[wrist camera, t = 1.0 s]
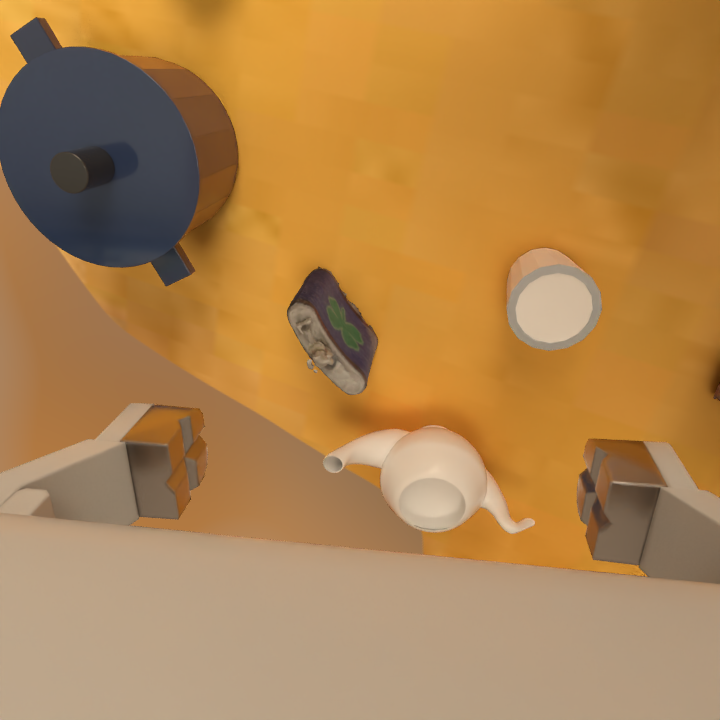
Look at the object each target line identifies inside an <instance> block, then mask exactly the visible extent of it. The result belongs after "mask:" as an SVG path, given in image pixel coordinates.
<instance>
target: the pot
mask: <svg viewBox="0 0 720 720" xmlns="http://www.w3.org/2000/svg"><path fill="white" fill-rule="evenodd" d="M11 38H12V39H13V41H14V43H15V44H16V46H17V47H18V49H19V51H20V52H21V54H22V56H23V57H24V59H25V60H26V62H27V64H28V63H29V62H30V61H31V60H33V59H34V58H36V57H38V56H40V55H41V54H43V53H46V52H49V51H52V50H55V49H59V48H62V46H61V45H60V43H59V41H58V40H57V38H56V36H55V35H54V33H53V31H52V30H51V28H50V26H49V24H48V23H47V21H46V19H45V18H38V17H36V18H34V19H33V20H31V21H30V22H29V23H27V24H26V25H24V26H23V27H22V28H20V29H19V30H17V31H16V32H14V33H13V34H12V35H11ZM120 56H121V55H120ZM122 57H124V58H126V59H129V60H130V61H132V62H134V63H135V64H137V65H138V66H140V67H142V68H143V69H144V70H146V71H147V72H148V73H149V74H150V75H152V76H153V77H154V78H155V79H156V80H157V81H158V82H159V83H160V84H161V85H162V86H163V87H164V88H165V89H166V90H167V91H168V92H169V94H170V95H171V96H172V97H173V99H174V100H175V101H176V103H177V104H178V106H179V107H180V109H181V111H182V112H183V114H184V115H185V117H186V119H187V122H188V124H189V126H190V128H191V130H192V133H193V135H194V138H195V141H196V144H197V148H198V152H199V157H200V163H201V172H202V189H201V196H200V202H199V206H198V209H197V213H196V216H195V218H194V220H193V222H192V225H191V226H190V228H189V230H188V231H187V233H188V232H190V231H192V230H193V229H195V228H196V227H198V226H200V225H201V224H203V223H205V222H206V221H208V220H209V219H211V218H212V217H213V216H214V215H215V214H216V212H217V211H218V210H219V209H220V208H221V207H222V206H223V205H224V203H225V202H226V200H227V198H228V197H229V195H230V193H231V191H232V188H233V186H234V182H235V179H236V174H237V168H238V149H237V141H236V136H235V132H234V129H233V126H232V123H231V120H230V118H229V116H228V114H227V112H226V110H225V108H224V106H223V105H222V103H221V101H220V100H219V99H218V97H217V96H216V95H215V93H214V92H213V91H212V90H211V89H210V88H209V87H208V86H207V85H206V84H205V82H203V81H202V80H201V79H200V78H198V77H197V76H196V75H195V74H193V73H192V72H190V71H189V70H187V69H185V68H183V67H181V66H179V65H177V64H175V63H171V62H168V61H165V60H162V59H159V58H156V57H142V56H122ZM187 233H186V234H187ZM151 263H152V265H153V266H154V268H155V270H156V271H157V273H158V274H159V276H160V278H161V279H162V281H163V282H164V284H165V286H169V285H171V284H173V283H175V282H177V281H179V280H181V279H183V278H185V277H187V276H189V275H191V274H192V273H194V272H195V269H194V267H193V266H192V264H191V262H190V261H189V259H188V257H187V256H186V254H185V252H184V251H183V249H182V247H181V246H180V244H179V243H178V244H177V245H176V246H175V247H173V248H172V249H171V250H170V251H169V252H167V253H166V254H164V255H162V256H161V257H159V258H157V259H156V260H153V261H151Z"/></svg>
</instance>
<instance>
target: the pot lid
mask: <svg viewBox="0 0 720 720" xmlns="http://www.w3.org/2000/svg"><path fill="white" fill-rule="evenodd" d="M0 162H1V166H2V170H3V173H4V176H5V178H6V181H7V184H8V186H9V188H10V190H11V192H12V194H13V196H14V198H15V200H16V201H17V203H18V205H19V206H20V208H21V210H22V211H23V212H24V214H25V215H26V216H27V217H28V219H29V220H30V221H31V223H32V224H33V225H34V226H35V227H36V228H37V229H38V230H39V231H40V232H41V233H42V234H43V235H44V236H45V237H46V238H48V239H49V240H50V241H51V242H52V243H54V244H55V245H57V246H58V247H59V248H61V249H62V250H64V251H66V252H67V253H69V254H71V255H73V256H75V257H77V258H79V259H82V260H84V261H87V262H90V263H93V264H96V265H101V266H107V267H120V268H123V267H134V266H138V265H142V264H146V263H148V262H151V261H153V260H156V259H157V258H159V257H161V256H162V255H164V254H166V253H167V252H169V251H170V250H171V249H172V248H173V247H175V246H176V245H177V244H178V243H179V242H180V240H181V239H182V238H183V237H184V236H185V234H186V233H187V231H188V230H189V228H190V226H191V225H192V222H193V220H194V218H195V216H196V213H197V209H198V206H199V202H200V196H201V189H202V172H201V163H200V157H199V152H198V148H197V144H196V141H195V138H194V135H193V133H192V130H191V128H190V126H189V124H188V122H187V119H186V117H185V115H184V114H183V112H182V111H181V109H180V107H179V106H178V104H177V103H176V101H175V100H174V99H173V97H172V96H171V95H170V94H169V92H168V91H167V90H166V89H165V88H164V87H163V86H162V85H161V84H160V83H159V82H158V81H157V80H156V79H155V78H154V77H153V76H152V75H150V74H149V73H148V72H147V71H146V70H144V69H143V68H142V67H140V66H138V65H137V64H135V63H134V62H132V61H130V60H129V59H126V58H124V57H122V56H120V55H118V54H115V53H112V52H109V51H106V50H102V49H97V48H91V47H65V48H59V49H55V50H52V51H49V52H46V53H43V54H41V55H40V56H38V57H36V58H34V59H33V60H31V61H30V62H29V63H28V64H26V65H25V66H24V67H23V68H22V69H21V70H20V71H19V72H18V73H17V75H16V76H15V77H14V78H13V80H12V81H11V83H10V85H9V86H8V88H7V90H6V92H5V95H4V97H3V100H2V103H1V107H0Z"/></svg>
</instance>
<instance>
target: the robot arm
mask: <svg viewBox="0 0 720 720" xmlns="http://www.w3.org/2000/svg"><path fill="white" fill-rule="evenodd" d="M204 427H205V426H204V419H203V413H202V412H201V411H200V409H198V408H188V407H177V406H166V405H155V404H145V403H132V404H129V405H128V406H127V407H126V408H125V410H123V412H122V413H121V414H120V415H119V416H118V417H117V418H116V419H115V420H114V421H113V422H112V423H111V424H110V425H109V426H108V427H107V428H106V429H105V430H104V431H103V432H102V433H101V434H100V435H99V436H98V437H97V438H96V439H95V440H90V439H87V440H85V441H82V442H80V443H77V444H74V445H72V446H69V447H67V448H64V449H61V450H59V451H56V452H53V453H51V454H49V455H46V456H43V457H41V458H38V459H36V460H33V461H30V462H27V463H25V464H22V465H20V466H17V467H14V468H12V469H9V470H7V471H4V472H1V473H0V720H720V498H719V497H717V496H716V495H714V494H712V493H710V492H709V491H706V490H699V489H698V487H697V486H696V484H695V483H694V481H693V480H692V478H691V476H690V475H689V473H688V472H687V470H686V468H685V467H684V465H683V464H682V462H681V461H680V459H679V457H678V456H677V454H676V453H675V451H674V449H673V448H672V446H671V445H670V444H668V443H667V442H649V441H629V440H609V439H588V441H587V443H586V446H585V450H584V455H583V457H584V460H585V463H586V466H587V469H585V470H584V471H583V472H582V473H581V474H580V475H579V481H578V487H577V507H578V513H579V516H580V520H581V521H582V522H583V523H585V524H586V525H587V530H586V535H585V536H586V539H587V542H588V545H589V549H590V552H591V555H592V558H593V560H600V561H608V562H616V563H624V564H632V565H639V568H640V569H641V570H642V571H643V572H644V573H645V574H646V575H647V576H648V577H645V576H635V575H625V574H615V573H605V572H594V571H584V570H574V569H564V568H554V567H544V566H534V565H524V564H513V563H503V562H493V561H483V560H473V559H463V558H453V557H442V556H432V555H422V554H412V553H402V552H391V551H381V550H372V549H361V548H351V547H340V546H331V545H321V544H311V543H300V542H291V541H280V540H271V539H260V538H250V537H240V536H230V535H219V534H210V533H200V532H189V531H179V530H169V529H159V528H149V527H139V526H129V525H130V524H132V523H133V522H135V521H136V520H138V519H139V517H151V518H166V519H179V518H180V516H181V514H182V513H183V511H184V510H185V508H186V506H187V505H188V503H189V502H190V500H191V496H190V490H192V489H194V488H196V487H198V486H199V485H200V483H201V481H202V480H203V478H204V475H205V471H206V468H207V460H208V459H207V458H208V451H207V444H206V443H205V441H204V440H203V439H202V438H201V437H200V435H199V434H200V433H201V431H202V430H203V428H204Z"/></svg>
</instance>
